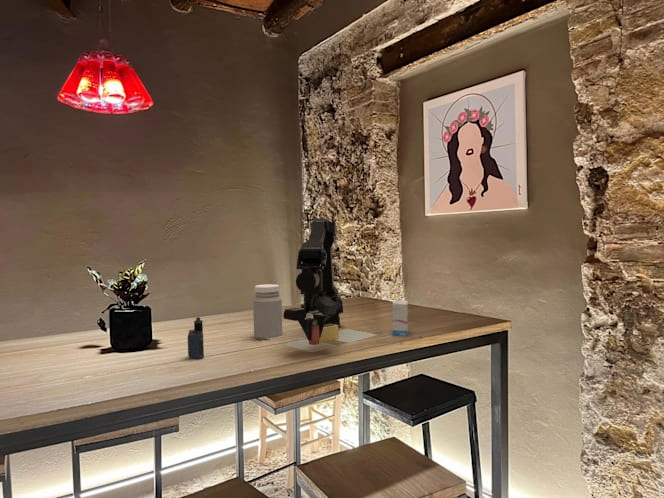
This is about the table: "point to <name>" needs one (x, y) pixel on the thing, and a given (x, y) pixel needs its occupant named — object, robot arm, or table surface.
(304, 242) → the robot arm
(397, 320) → the ink box
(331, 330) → the block
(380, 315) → the table surface
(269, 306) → the jar
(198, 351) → the vaping device
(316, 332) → the small red bottle
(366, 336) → the subfloor panel
